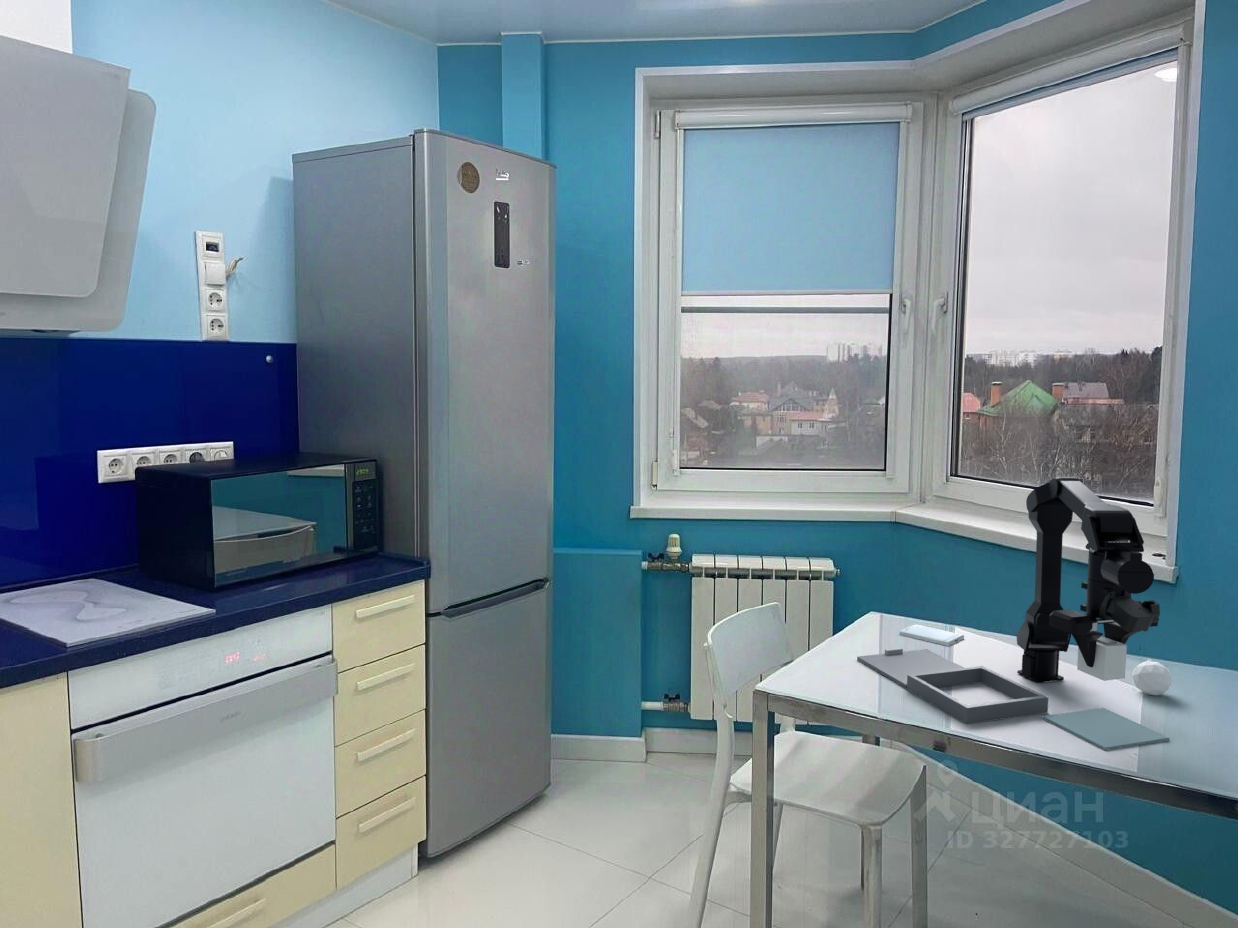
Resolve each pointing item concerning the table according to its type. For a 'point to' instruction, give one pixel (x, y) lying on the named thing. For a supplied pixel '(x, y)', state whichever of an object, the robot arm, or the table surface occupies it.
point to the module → (1106, 660)
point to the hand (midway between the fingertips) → (1101, 665)
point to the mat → (1105, 728)
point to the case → (933, 670)
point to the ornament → (1152, 678)
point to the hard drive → (931, 635)
